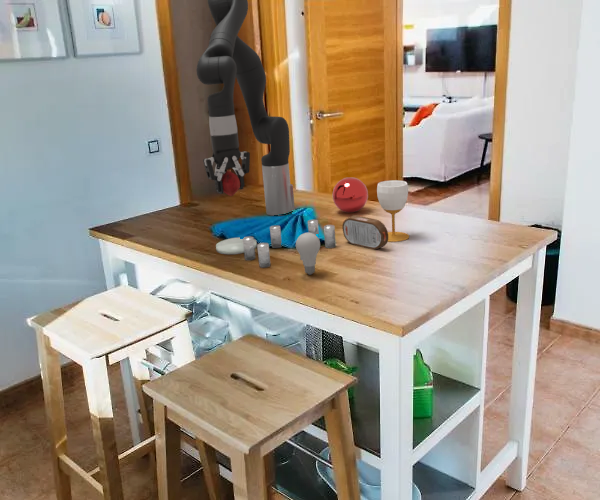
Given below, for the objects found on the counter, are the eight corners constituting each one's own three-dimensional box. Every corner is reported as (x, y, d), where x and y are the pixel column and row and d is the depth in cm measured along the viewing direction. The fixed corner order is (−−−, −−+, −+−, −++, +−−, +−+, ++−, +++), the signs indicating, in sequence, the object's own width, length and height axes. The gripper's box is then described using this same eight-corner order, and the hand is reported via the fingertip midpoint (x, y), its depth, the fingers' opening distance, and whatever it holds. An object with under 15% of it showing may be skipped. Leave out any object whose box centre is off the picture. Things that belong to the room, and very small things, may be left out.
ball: (374, 208, 207) (373, 174, 203) (359, 218, 198) (357, 182, 194) (343, 206, 213) (341, 173, 209) (327, 215, 204) (325, 180, 200)
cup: (412, 233, 178) (412, 180, 173) (404, 243, 170) (403, 187, 165) (383, 231, 182) (381, 179, 177) (374, 240, 174) (372, 186, 169)
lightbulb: (297, 271, 155) (294, 230, 152) (320, 269, 156) (318, 228, 152) (299, 279, 150) (295, 237, 146) (323, 277, 150) (320, 235, 146)
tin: (389, 249, 166) (388, 220, 164) (382, 252, 164) (381, 223, 162) (348, 240, 177) (347, 212, 174) (341, 243, 175) (339, 215, 172)
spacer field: (308, 235, 184) (307, 216, 182) (345, 249, 169) (344, 228, 167) (236, 255, 171) (234, 235, 169) (269, 271, 156) (267, 250, 154)
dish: (244, 238, 186) (244, 234, 185) (264, 247, 176) (264, 243, 176) (209, 247, 179) (208, 244, 179) (228, 257, 170) (227, 253, 169)
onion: (237, 198, 169) (234, 170, 167) (218, 199, 171) (215, 171, 168) (243, 193, 175) (240, 166, 172) (224, 194, 176) (221, 167, 173)
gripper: (240, 127, 173) (246, 184, 179) (194, 134, 166) (202, 194, 171) (253, 129, 167) (258, 188, 173) (206, 136, 160) (214, 198, 166)
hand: (230, 190), depth 172 cm, fingers closed on onion, 6 cm apart
